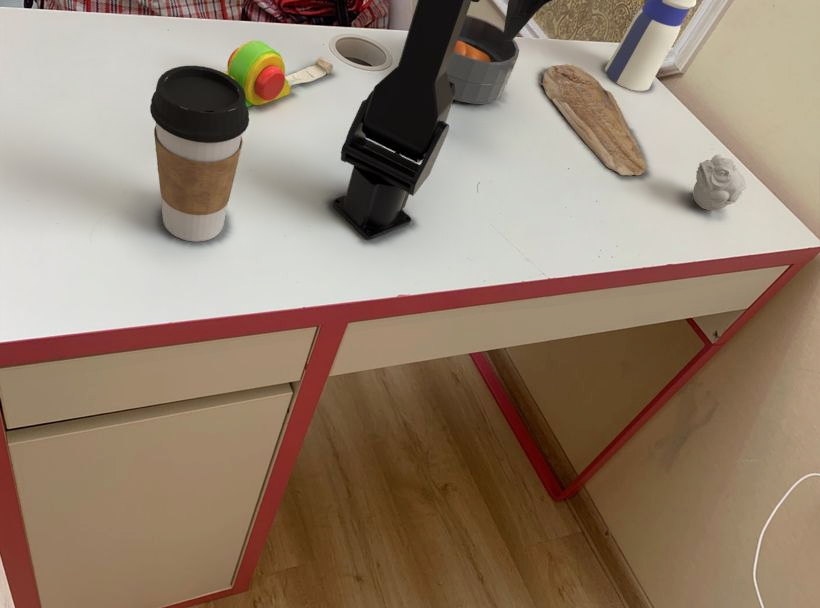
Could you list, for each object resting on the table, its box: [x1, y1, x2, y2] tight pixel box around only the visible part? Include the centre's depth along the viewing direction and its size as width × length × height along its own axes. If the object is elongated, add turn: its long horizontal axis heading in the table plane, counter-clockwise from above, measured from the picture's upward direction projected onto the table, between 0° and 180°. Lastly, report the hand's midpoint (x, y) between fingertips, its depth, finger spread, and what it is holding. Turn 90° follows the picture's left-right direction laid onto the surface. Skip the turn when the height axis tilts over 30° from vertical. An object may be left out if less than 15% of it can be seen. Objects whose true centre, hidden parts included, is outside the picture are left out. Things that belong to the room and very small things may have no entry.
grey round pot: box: [447, 14, 520, 105], centre depth 98 cm, size 13×13×6 cm
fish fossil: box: [541, 63, 647, 177], centre depth 102 cm, size 26×10×1 cm, turn 18°
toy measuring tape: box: [222, 40, 334, 107], centre depth 86 cm, size 6×20×7 cm, turn 138°
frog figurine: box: [692, 154, 747, 211], centre depth 91 cm, size 6×7×7 cm
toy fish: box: [454, 41, 491, 62], centre depth 98 cm, size 9×4×4 cm, turn 109°
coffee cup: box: [149, 65, 250, 243], centre depth 65 cm, size 8×8×15 cm
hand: (490, 20), depth 86 cm, fingers open, 9 cm apart
